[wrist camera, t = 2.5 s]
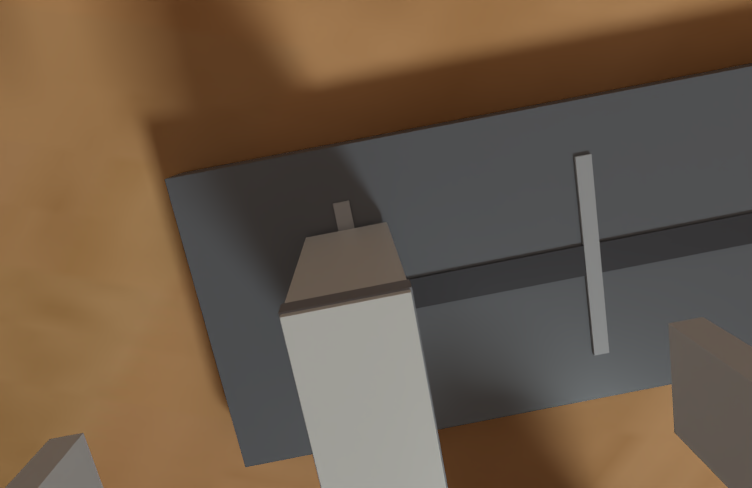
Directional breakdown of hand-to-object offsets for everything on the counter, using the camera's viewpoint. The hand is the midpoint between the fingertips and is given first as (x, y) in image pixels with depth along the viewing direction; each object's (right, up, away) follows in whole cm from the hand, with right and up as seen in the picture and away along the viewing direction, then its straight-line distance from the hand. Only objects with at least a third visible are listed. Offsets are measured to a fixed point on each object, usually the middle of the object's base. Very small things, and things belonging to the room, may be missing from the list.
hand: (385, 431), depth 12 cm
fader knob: (-1, +2, +9) cm, 9 cm away
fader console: (+8, +4, +11) cm, 14 cm away
